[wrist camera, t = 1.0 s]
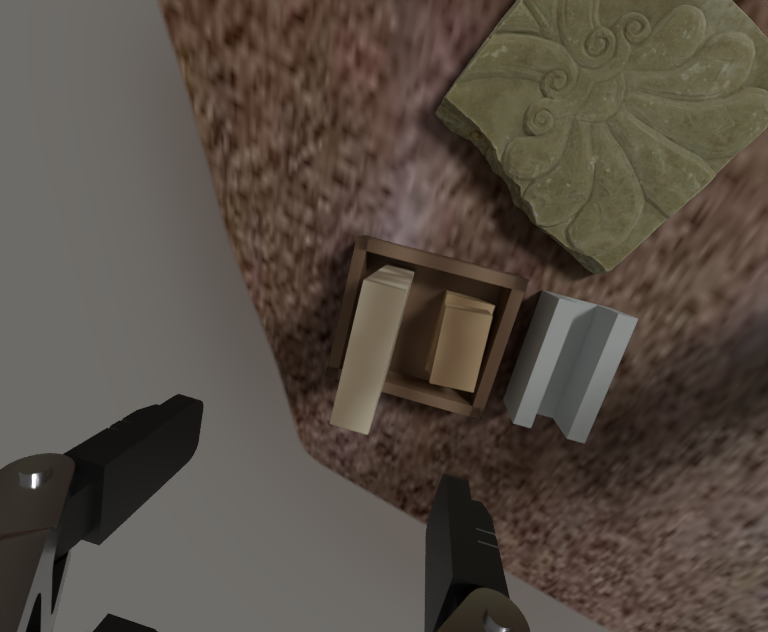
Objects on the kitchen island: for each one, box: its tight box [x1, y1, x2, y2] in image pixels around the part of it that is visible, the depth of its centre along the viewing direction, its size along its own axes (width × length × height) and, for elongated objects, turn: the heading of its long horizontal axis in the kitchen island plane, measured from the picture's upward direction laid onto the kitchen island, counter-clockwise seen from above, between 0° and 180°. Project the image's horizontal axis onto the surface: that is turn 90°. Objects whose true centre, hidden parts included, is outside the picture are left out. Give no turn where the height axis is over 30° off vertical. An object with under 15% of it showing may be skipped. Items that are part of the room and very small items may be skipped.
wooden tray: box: [326, 236, 529, 420], centre depth 32 cm, size 14×12×4 cm
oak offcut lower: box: [425, 290, 495, 372], centre depth 32 cm, size 4×7×2 cm, turn 166°
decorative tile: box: [435, 0, 768, 274], centre depth 28 cm, size 19×20×4 cm
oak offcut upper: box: [429, 302, 493, 392], centre depth 30 cm, size 4×6×2 cm, turn 170°
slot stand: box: [503, 290, 638, 444], centre depth 31 cm, size 6×11×4 cm, turn 166°
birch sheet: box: [330, 263, 415, 435], centre depth 27 cm, size 2×9×13 cm, turn 166°
